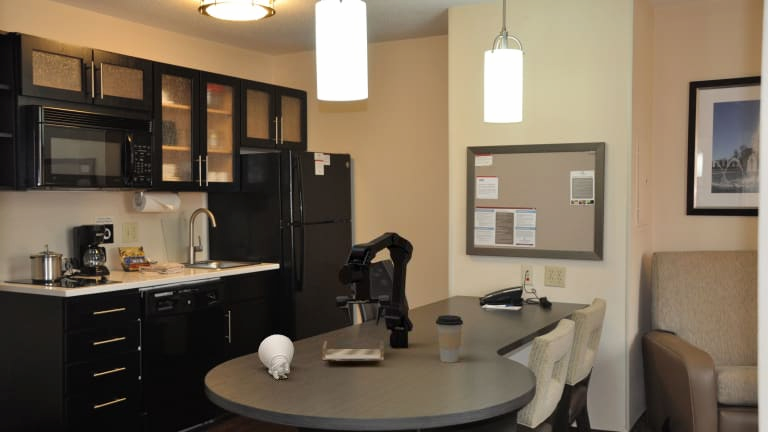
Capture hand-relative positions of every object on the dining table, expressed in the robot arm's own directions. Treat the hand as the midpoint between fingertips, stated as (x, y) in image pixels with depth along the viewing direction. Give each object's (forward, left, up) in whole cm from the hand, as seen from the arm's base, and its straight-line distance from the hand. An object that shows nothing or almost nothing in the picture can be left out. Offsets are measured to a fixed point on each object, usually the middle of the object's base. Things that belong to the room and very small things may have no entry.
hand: (363, 325), depth 251 cm
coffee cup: (-29, +4, -12) cm, 32 cm away
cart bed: (+4, -3, -11) cm, 12 cm away
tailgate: (+4, +4, -10) cm, 11 cm away
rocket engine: (+28, +21, -12) cm, 37 cm away
